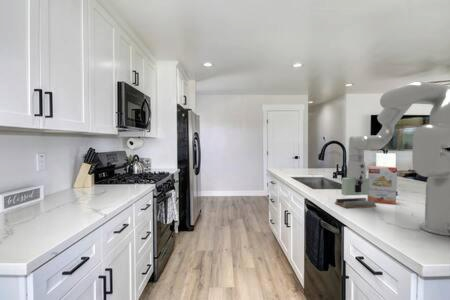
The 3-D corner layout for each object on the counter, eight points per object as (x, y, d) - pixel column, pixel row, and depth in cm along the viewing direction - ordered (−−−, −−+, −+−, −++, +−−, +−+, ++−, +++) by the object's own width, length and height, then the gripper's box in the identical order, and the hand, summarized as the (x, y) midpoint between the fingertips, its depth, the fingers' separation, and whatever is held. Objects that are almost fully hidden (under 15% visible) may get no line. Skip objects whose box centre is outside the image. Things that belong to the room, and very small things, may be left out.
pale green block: (368, 194, 140) (369, 178, 140) (346, 195, 138) (346, 179, 138) (363, 193, 144) (364, 177, 144) (341, 193, 142) (341, 177, 142)
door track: (376, 207, 138) (376, 201, 138) (346, 208, 135) (346, 202, 135) (363, 202, 148) (363, 197, 148) (334, 203, 145) (335, 198, 145)
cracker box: (367, 201, 149) (368, 166, 148) (367, 199, 155) (368, 165, 154) (396, 204, 143) (397, 167, 142) (394, 202, 148) (395, 166, 147)
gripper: (373, 159, 133) (372, 194, 134) (352, 157, 149) (351, 188, 150) (360, 159, 131) (359, 194, 132) (340, 157, 148) (339, 188, 149)
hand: (355, 190), depth 141 cm, fingers closed on pale green block, 4 cm apart
